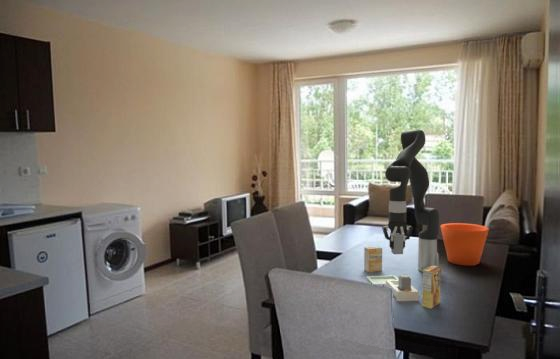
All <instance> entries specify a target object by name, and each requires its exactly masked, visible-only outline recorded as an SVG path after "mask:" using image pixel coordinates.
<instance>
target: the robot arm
mask: <svg viewBox="0 0 560 359" xmlns="http://www.w3.org/2000/svg"><path fill="white" fill-rule="evenodd" d="M400 142H401V147H402V150H401V151H400V152H399V153H398V155H397V157H396V159H395V160H394V161H393V162H391V163H390V164H389V165H388V166H387V167H386V169H385V172H384V174H385V178H386V180H387V181H388V182H392V183H400V184H399V185H398V186H393V187H390V188H389V202H388V223H387V225H385V226H381V229H382V232H383V235H384V239H386V240H387V241H389V245H388V246H389V249H390V250H391V249H394V241H393V239H394V236H395V234H397V233H399V234H401V235H402V236H403V250H404V249H406V241H407V240H410V239H411V238H410V237H411V236H412V232H413V229H414V227H413V226H411V225H408V224H407V211H408V209H407V188H408V184H410V188H411V193H412V199H413V205H414V206H413V207H414V208H413V209H414V218H415V221H416V222H417V223H418V224H419V225H422V226H423V225H424V226H427V227H426V229H425V230H422V231H419V232H418V253H417V254H418V255H417V256H418V260H417V261H418V263H417V264H418V265H417V269H418V271H419V272H422V273H423V270H424V269H426V268H428V267H430V266H438V267H439V263H440V262H439V260H440V259H439V258H440V257H439V256H440V254H439V253H438V234H439V228H440V213H439V210H438V209H437V208H435V207H426V205H425V195H426V193H427V191H428V190H429V188H430V179H429V174H428V170H427V169H426V168H425V167H424V165H423V164H422V163H421V161H419V160H418V159H417V157H416V156H417V155H418V154H419V153H420V152H421V150H422V149H423V147H425V144H426V135H425V132H424V130H422V129H413V130H406V131H402V132H401V134H400ZM389 230H390V232H389V233H388V231H389ZM405 230H406V233H405Z"/></svg>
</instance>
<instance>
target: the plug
mask: <svg viewBox="0 0 560 359" xmlns="http://www.w3.org/2000/svg"><path fill="white" fill-rule="evenodd" d="M393 241H394V249H391V248H390V250H391V252H390V253H392V254H393V255H404V249H403V236H402V235H401V234H399V233H397V234H395V236H394V239H393Z"/></svg>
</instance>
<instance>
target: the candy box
mask: <svg viewBox="0 0 560 359" xmlns="http://www.w3.org/2000/svg"><path fill="white" fill-rule="evenodd" d="M441 275H442V267H441V266H439V265H438V266H430V267H428V268H426V269H424V270H423V272H422V291H421V292H422V295H421V296H422V300H421V301H422V302H421V303H422V304H421V305H422V306H421V307H423V308H427V309H433V308H435V307H436V306H437V305H439V304H441V282H442V281H441V280H442V279H441V278H442V277H441Z"/></svg>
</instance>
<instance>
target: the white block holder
mask: <svg viewBox="0 0 560 359" xmlns="http://www.w3.org/2000/svg"><path fill="white" fill-rule="evenodd" d="M397 278H398V280H386V286H388V287H390V288H392V290H393V294H392V295H393V298H394V300H395V301H396V302H419V291H418V289H416V288H415V286H413V285H412V279H411V277H410V276H409V275H408V274H399V275H398V277H397ZM386 286H385V287H386Z"/></svg>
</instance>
